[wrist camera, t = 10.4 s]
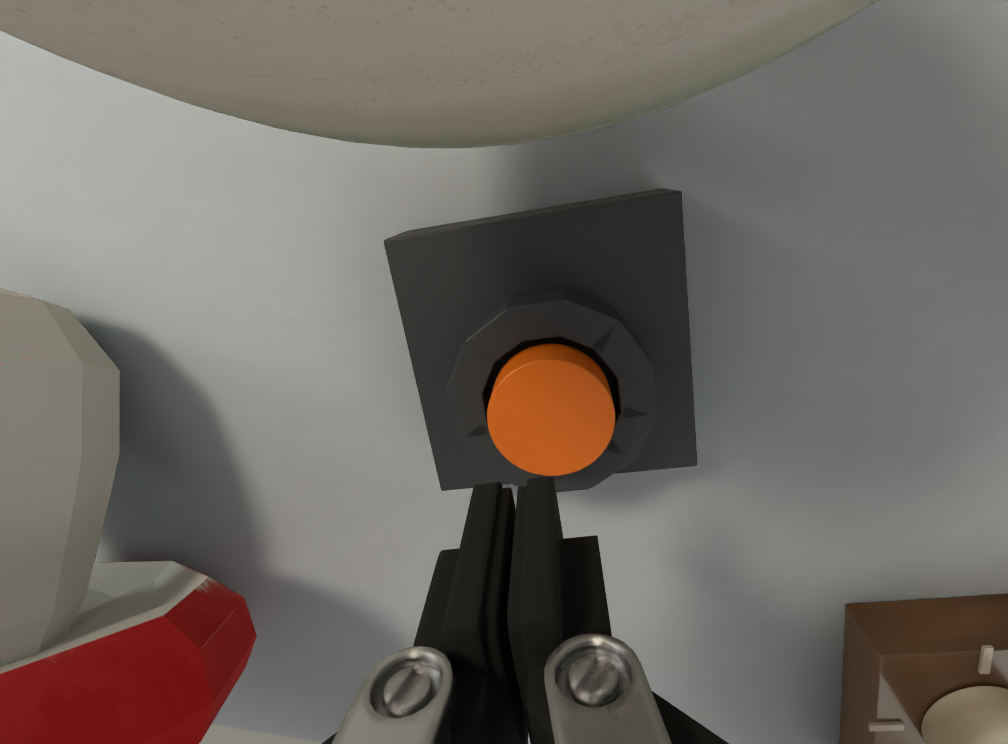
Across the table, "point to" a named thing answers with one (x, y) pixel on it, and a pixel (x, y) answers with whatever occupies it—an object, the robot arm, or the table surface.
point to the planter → (426, 58)
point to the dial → (968, 717)
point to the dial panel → (916, 661)
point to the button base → (552, 326)
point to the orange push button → (551, 410)
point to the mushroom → (91, 564)
